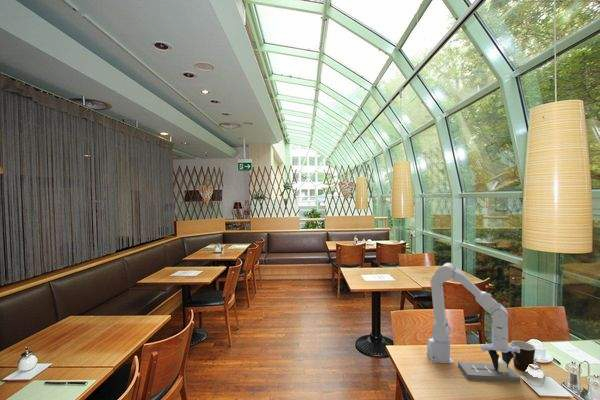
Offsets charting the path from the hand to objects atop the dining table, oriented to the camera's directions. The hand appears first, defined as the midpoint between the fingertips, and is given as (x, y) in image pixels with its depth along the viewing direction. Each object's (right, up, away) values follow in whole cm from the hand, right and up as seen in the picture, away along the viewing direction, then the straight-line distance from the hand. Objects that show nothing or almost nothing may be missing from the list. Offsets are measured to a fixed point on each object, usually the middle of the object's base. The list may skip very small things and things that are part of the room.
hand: (500, 368), depth 127 cm
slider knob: (0, 0, 0) cm, 0 cm away
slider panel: (-5, -3, +1) cm, 6 cm away
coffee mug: (+14, -3, +6) cm, 16 cm away
